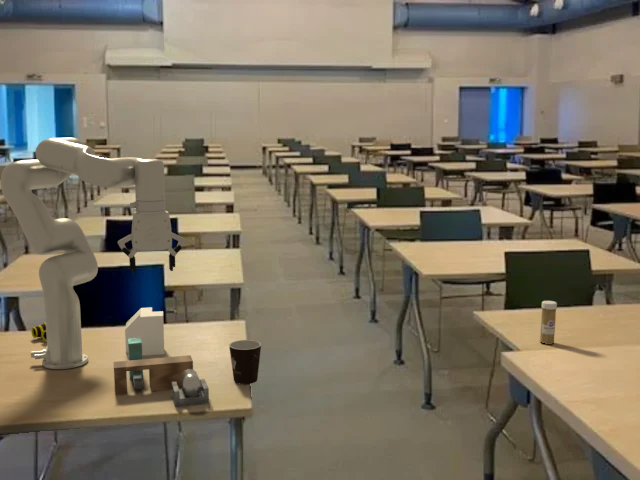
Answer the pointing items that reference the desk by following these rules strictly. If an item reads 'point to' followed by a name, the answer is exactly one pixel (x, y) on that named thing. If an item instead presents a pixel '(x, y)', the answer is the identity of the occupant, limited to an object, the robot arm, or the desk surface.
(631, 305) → the desk surface
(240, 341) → the dark brown paper cup
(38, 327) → the opera glasses
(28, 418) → the desk surface
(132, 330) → the corner bracket
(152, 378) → the wooden panel with opening
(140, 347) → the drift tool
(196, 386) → the axle
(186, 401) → the cradle
